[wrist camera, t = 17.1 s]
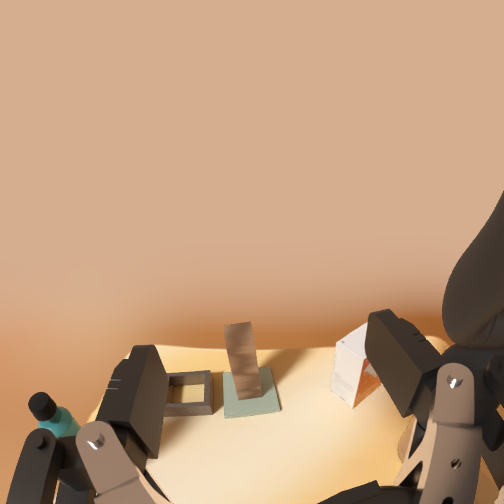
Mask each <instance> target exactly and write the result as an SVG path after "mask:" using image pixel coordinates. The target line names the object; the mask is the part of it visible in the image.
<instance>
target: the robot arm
mask: <svg viewBox="0 0 504 504" xmlns="http://www.w3.org/2000/svg"><path fill="white" fill-rule="evenodd" d="M442 319H443V325H444V328H445V331H446V333H447V335H448V336H449V338H450V339H451V340H452V341H453V342H454V343H456V344H455V345H453V346H451V347H449V348H448V349H447V350H446V351H445V352H444V353H443V354H442V355H440V353H439V352H438V351H437V350H436V349H435V348H434V347H433V346H432V344H431V343H430V342H429V341H428V340H426V338H425V337H424V336H423V335H422V334H420V331H419V330H418V329H417V328H416V327H415V326H414V325H413V324H412V323H410V322H408V321H406V320H404V319H403V318H401V319H398V317H397V316H396V315H395V314H394V313H393V312H392V311H391V310H390V309H385V310H381V311H376V312H372V313H370V314H369V317H368V324H367V331H366V337H365V344H364V348H365V354H366V357H367V359H368V361H369V362H370V364H371V365H372V367H373V369H374V370H375V372H376V374H377V375H378V377H379V379H380V380H381V382H382V383H383V385H384V387H385V388H386V390H387V392H388V393H389V395H390V397H391V399H392V400H393V402H394V404H395V405H396V407H397V409H398V410H399V412H400V414H401V416H402V417H403V418H404V417H407V416H409V415H411V414H414V416H413V418H412V420H411V422H410V423H409V425H408V427H407V429H406V431H405V432H404V434H403V436H402V438H401V439H400V441H399V444H398V455H399V458H400V460H401V461H402V463H403V465H402V468H401V470H400V471H399V473H398V475H397V477H396V480H395V482H394V485H393V486H379V485H378V483H377V480H375V481H372V482H369V483H367V484H364V485H361V486H358V487H355V488H352V489H349V490H345V491H342V492H340V493H338V494H336V495H334V496H332V497H330V498H328V499H326V500H324V501H322V502H320V503H318V504H473V503H474V498H475V493H476V488H477V482H478V475H479V468H480V459H481V455H482V457H483V459H484V461H485V463H486V465H487V467H488V469H489V471H490V473H491V475H492V477H493V479H494V481H495V483H496V485H497V487H498V489H499V495H498V498H497V499H496V500H495V502H494V504H504V420H503V419H502V418H501V416H500V415H499V413H498V412H497V410H496V409H497V408H498V406H499V405H500V404H501V405H502V406H503V408H504V191H503V193H502V196H501V197H500V199H499V201H498V203H497V205H496V207H495V209H494V211H493V213H492V214H491V216H490V218H489V219H488V221H487V222H486V224H485V225H484V227H483V228H482V229H481V231H480V232H479V234H478V235H477V236H476V238H475V239H474V240H473V242H472V243H471V244H470V246H469V247H468V248H467V249H466V251H465V252H464V253H463V255H462V256H461V258H460V259H459V260H458V262H457V264H456V266H455V267H454V269H453V271H452V274H451V275H450V278H449V281H448V283H447V286H446V290H445V294H444V299H443V306H442ZM167 393H168V377H167V374H166V371H165V369H164V366H163V364H162V362H161V359H160V357H159V354H158V351H157V349H156V347H155V346H154V345H136V346H134V347H133V348H132V351H131V353H130V356H129V359H123V360H122V361H121V362H120V363H119V365H118V366H117V367H116V368H115V369H114V372H113V374H112V377H111V381H110V382H109V384H108V389H106V392H105V395H104V397H103V400H102V403H101V406H100V408H99V411H98V414H97V417H96V420H95V421H93V422H89V423H87V424H85V425H84V426H83V427H82V428H80V430H79V431H78V433H77V435H74V436H66V437H56V436H55V435H54V434H53V433H52V431H50V430H49V429H46V428H38V429H35V430H34V431H32V432H31V433H30V434H29V435H28V437H27V439H26V441H25V444H24V446H23V449H22V452H21V455H20V458H19V460H18V463H17V466H16V470H15V473H14V476H13V480H12V483H11V487H10V490H9V494H8V498H7V502H6V504H53V499H54V494H55V489H56V484H57V480H58V481H60V483H59V487H58V492H57V497H56V502H55V504H174V503H173V502H172V501H171V500H170V498H169V497H168V496H167V495H166V493H165V492H164V491H163V489H162V488H161V487H160V485H159V484H158V483H157V481H156V480H155V479H154V477H153V476H152V475H151V473H150V472H149V470H148V469H147V468H146V461H147V458H151V459H158V452H159V445H160V438H161V431H162V424H163V418H164V411H165V405H166V399H167ZM96 493H97V496H96Z"/></svg>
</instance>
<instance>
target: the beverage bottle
mask: <svg viewBox="0 0 504 504" xmlns="http://www.w3.org/2000/svg"><path fill="white" fill-rule="evenodd" d="M28 406H29V409H30V411H31V412H32V413H33V415H34V417H35V418H36V419H37V420H39V422H38V428H46V429H49V430H50V431H52V433H53V434H54V435H55V436H56V437H66V436H74V435H77V433H78V431H79V430H80V428H81V426H80V425H79V424H78V423H77V421H75V419H74V418H73V417H72V415H71V413H70V412H69V411H68V410H67V409H66V408H63V407H59V406H56V403H55V402H54V401H53V400H52V399H51V398H50V396H49V395H48V394H46V393H45V392H38V393H36V394H34V395H33V396H32V397H31V398H30V400H29V403H28Z"/></svg>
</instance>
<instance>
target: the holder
mask: <svg viewBox="0 0 504 504" xmlns="http://www.w3.org/2000/svg"><path fill="white" fill-rule="evenodd" d="M166 374H167V377H168V393H167V399H166V405H165V411H164V417H173V416H199V415H213V379H212V375H211V372H210V370H205V371H194V372H180V373H166ZM196 384H205V388H204V402H192V403H171V400H172V393H173V386H181V385H196Z"/></svg>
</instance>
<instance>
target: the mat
mask: <svg viewBox="0 0 504 504" xmlns="http://www.w3.org/2000/svg"><path fill="white" fill-rule="evenodd" d="M258 371H259V378H260V385H261V392H262V397H260V398H253V399H246V400H239V401H238V397H237V393H236V388H235V384H234V380H233V376H232V372H225V373H223V392H224V416H225V419H227V418H236V417H245V416H253V415H260V414H267V413H273V412H279V411H280V407H279V403H278V399H277V394H276V390H275V386H274V381H273V377H272V372H271V368H270V366H269V367H262V368H258Z"/></svg>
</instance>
